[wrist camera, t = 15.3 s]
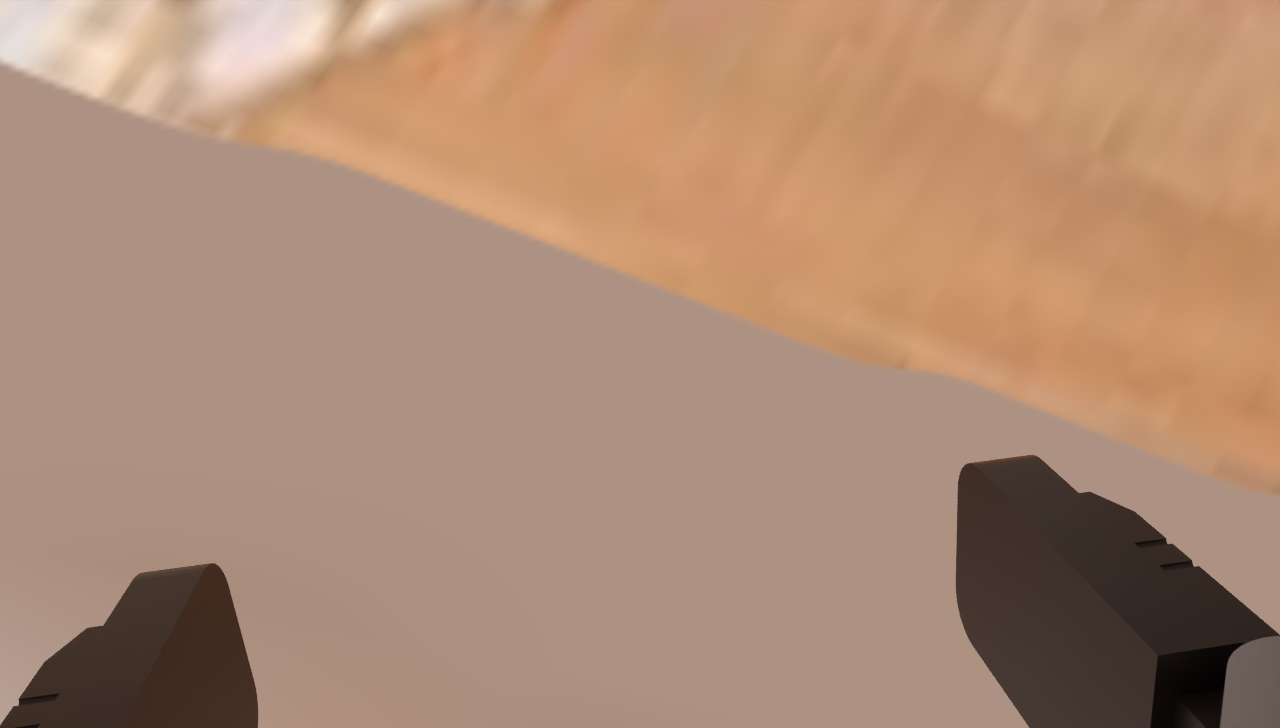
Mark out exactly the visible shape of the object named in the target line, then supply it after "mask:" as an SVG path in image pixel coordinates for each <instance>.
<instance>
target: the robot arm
mask: <svg viewBox="0 0 1280 728" xmlns="http://www.w3.org/2000/svg"><path fill="white" fill-rule="evenodd" d="M957 509H958V510H957V511H958V512H957V556H956V595H957V602H958V608H959V612H960V617H961V620H962V623H963V626H964V629H965V631H966V634H967V636H968V638H969V640H970V642H971V643H972V645H973V646H974V648H975V650H976V651H977V652H978V654H979V655H980V657H981V658H982V660H983V661H984V662H985V664H986V665H987V667H988V668H989V670H990V671H991V673H992V674H993V675H994V677H995V678H996V680H997V681H998V683H999V684H1000V686H1001V687H1002V688H1003V690H1004V691H1005V693H1006V694H1007V696H1008V697H1009V699H1010V700H1011V701H1012V703H1013V704H1014V706H1015V707H1016V709H1017V710H1018V711H1019V713H1020V714H1021V716H1022V717H1023V719H1024V720H1025V722H1026V723H1027V725H1028V726H1029V727H1030V728H1280V635H1279V634H1278V633H1277V632H1276V631H1275V630H1273V629H1272V628H1271V627H1270V626H1269V625H1268V624H1266V623H1265V622H1264V621H1263V620H1262V619H1260V618H1259V617H1258V616H1257V615H1256V614H1255V613H1253V612H1252V611H1251V610H1250V609H1249V608H1247V607H1246V606H1245V605H1244V604H1243V603H1242V602H1240V601H1239V600H1238V599H1237V598H1236V597H1235V596H1233V595H1232V594H1231V593H1230V592H1229V591H1227V590H1226V589H1225V588H1224V587H1223V586H1222V585H1220V584H1219V583H1218V582H1217V581H1216V580H1215V579H1213V578H1212V577H1211V576H1210V575H1209V574H1207V573H1206V572H1205V571H1204V570H1203V569H1202V568H1200V567H1199V566H1197V567H1194V566H1193V564H1192V560H1191V559H1190V558H1189V557H1187V556H1186V555H1185V554H1184V553H1183V552H1182V551H1180V550H1179V549H1178V548H1177V547H1175V545H1173V544H1167V542H1166V538H1165V537H1164V536H1163V535H1162V534H1160V533H1159V532H1158V531H1157V530H1156V529H1154V528H1153V527H1152V526H1151V525H1150V524H1148V523H1147V522H1146V521H1145V520H1144V519H1143V518H1142V517H1140V516H1139V515H1138V514H1137V513H1136V512H1134V511H1132V510H1130V509H1127V508H1125V507H1123V506H1120V505H1118V504H1116V503H1114V502H1112V501H1110V500H1107V499H1105V498H1103V497H1101V496H1098V495H1096V494H1094V493H1091V492H1085V493H1078V492H1077V491H1076V490H1075V489H1074V488H1072V487H1071V486H1070V485H1069V484H1068V483H1067V482H1066V481H1065V480H1064V479H1062V478H1061V477H1060V476H1059V475H1058V474H1057V473H1056V472H1055V471H1054V470H1052V469H1051V468H1050V467H1049V466H1048V465H1047V464H1046V463H1045V462H1043V461H1042V460H1041V459H1040V458H1039V457H1037V456H1034V455H1027V456H1020V457H1012V458H1005V459H997V460H990V461H983V462H975V463H969V464H966V465H965V466H964V467H963V468H962V470H961V473H960V476H959V481H958V508H957ZM0 728H258V702H257V693H256V688H255V683H254V679H253V676H252V672H251V668H250V665H249V661H248V657H247V653H246V649H245V646H244V642H243V638H242V635H241V631H240V627H239V623H238V620H237V616H236V612H235V608H234V605H233V601H232V597H231V594H230V590H229V586H228V583H227V580H226V577H225V575H224V573H223V571H222V570H221V569H220V567H219V566H218V565H216V564H214V563H211V564H203V565H196V566H189V567H181V568H174V569H166V570H159V571H151V572H144V573H140V574H139V575H137V576H136V577H135V578H134V579H133V580H132V582H131V584H130V585H129V587H128V588H127V590H126V591H125V593H124V594H123V596H122V598H121V599H120V601H119V602H118V604H117V605H116V607H115V608H114V610H113V612H112V613H111V615H110V616H109V618H108V619H107V621H106V623H105V624H104V625H103V626H98V627H91V628H87V629H86V630H84V631H83V632H82V633H80V634H79V635H78V636H77V637H75V638H74V639H73V640H72V641H70V642H69V643H68V644H67V645H65V646H64V647H63V648H62V649H61V650H59V651H58V652H57V653H55V654H54V655H53V656H52V657H50V658H49V659H48V660H47V661H45V662H44V664H43V665H42V666H41V668H40V669H39V671H38V672H37V674H36V675H35V676H34V678H33V679H32V681H31V682H30V684H29V685H28V687H27V688H26V689H25V691H24V692H23V694H22V695H21V696H20V698H19V706H14V707H13V708H12V710H11V711H10V712H9V714H8V715H7V717H6V718H5V719H4V721H3V722H2V724H1V725H0Z"/></svg>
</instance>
